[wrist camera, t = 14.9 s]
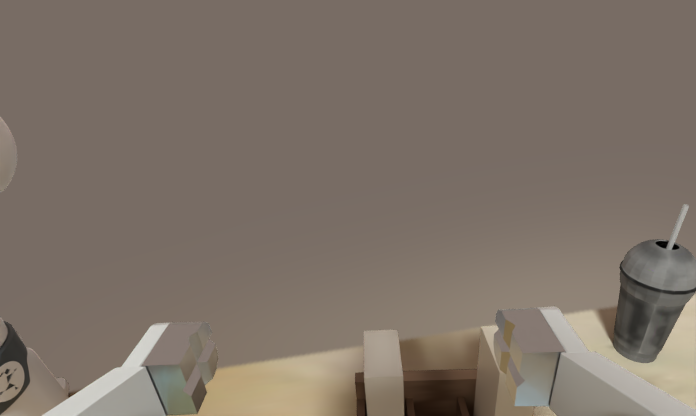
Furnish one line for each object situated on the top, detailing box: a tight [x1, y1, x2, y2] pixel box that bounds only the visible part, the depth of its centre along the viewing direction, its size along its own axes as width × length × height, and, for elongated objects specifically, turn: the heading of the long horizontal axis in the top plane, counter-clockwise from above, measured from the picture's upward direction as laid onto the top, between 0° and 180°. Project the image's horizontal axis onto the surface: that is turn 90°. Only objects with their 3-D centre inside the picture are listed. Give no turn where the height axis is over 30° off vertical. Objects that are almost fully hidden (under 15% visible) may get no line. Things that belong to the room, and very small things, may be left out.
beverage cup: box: [613, 204, 696, 363], centre depth 44 cm, size 7×7×20 cm
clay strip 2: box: [473, 326, 534, 416], centre depth 34 cm, size 3×5×14 cm, turn 178°
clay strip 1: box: [364, 330, 404, 416], centre depth 34 cm, size 3×5×14 cm, turn 178°
